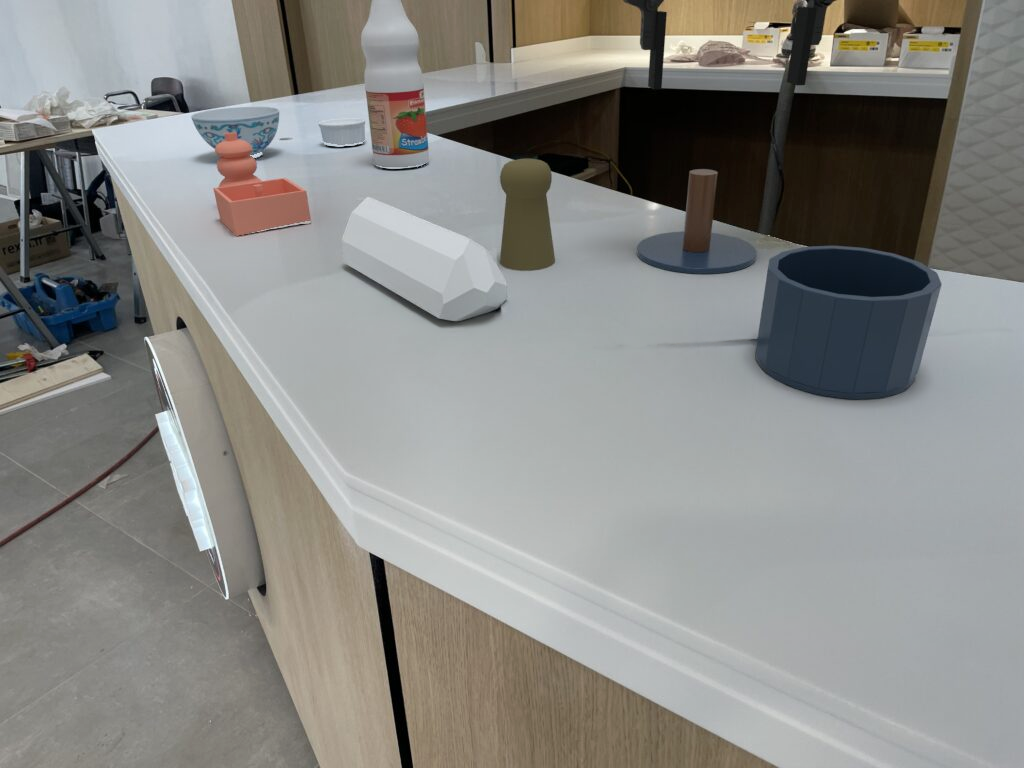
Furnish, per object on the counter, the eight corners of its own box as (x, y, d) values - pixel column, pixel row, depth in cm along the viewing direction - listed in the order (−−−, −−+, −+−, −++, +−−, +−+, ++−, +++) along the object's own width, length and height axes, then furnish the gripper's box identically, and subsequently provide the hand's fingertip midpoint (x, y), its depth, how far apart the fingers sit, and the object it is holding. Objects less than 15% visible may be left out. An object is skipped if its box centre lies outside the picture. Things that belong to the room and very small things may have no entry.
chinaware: (220, 169, 125) (210, 122, 121) (188, 157, 135) (178, 113, 131) (300, 156, 134) (293, 111, 130) (264, 145, 144) (257, 104, 140)
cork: (517, 253, 81) (515, 152, 76) (565, 261, 79) (566, 157, 73) (488, 270, 77) (483, 163, 72) (538, 279, 74) (537, 169, 69)
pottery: (311, 223, 94) (298, 144, 90) (236, 236, 90) (219, 154, 86) (272, 195, 108) (259, 126, 103) (206, 205, 104) (189, 133, 99)
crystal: (537, 266, 66) (406, 212, 83) (478, 242, 61) (352, 190, 78) (506, 342, 67) (383, 274, 84) (445, 324, 62) (329, 255, 79)
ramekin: (317, 143, 145) (313, 120, 143) (361, 138, 148) (358, 116, 146) (327, 150, 138) (323, 126, 136) (372, 145, 141) (370, 122, 139)
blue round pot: (869, 329, 62) (889, 242, 58) (946, 395, 52) (976, 296, 48) (736, 335, 61) (747, 248, 58) (787, 403, 51) (804, 303, 48)
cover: (734, 239, 84) (744, 157, 79) (773, 276, 73) (787, 184, 69) (626, 243, 84) (630, 161, 79) (649, 282, 73) (656, 189, 68)
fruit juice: (389, 158, 130) (370, -22, 117) (438, 160, 127) (424, -24, 114) (364, 169, 122) (341, -22, 109) (416, 171, 119) (398, -25, 106)
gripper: (610, -199, 56) (600, 94, 67) (930, -206, 57) (872, 86, 67) (597, -179, 63) (590, 84, 73) (884, -186, 63) (837, 77, 74)
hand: (725, 86), depth 70 cm, fingers open, 13 cm apart
